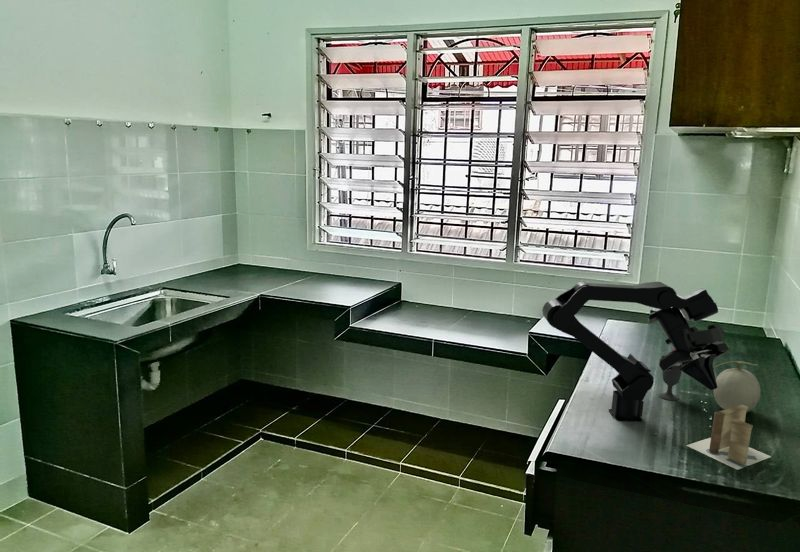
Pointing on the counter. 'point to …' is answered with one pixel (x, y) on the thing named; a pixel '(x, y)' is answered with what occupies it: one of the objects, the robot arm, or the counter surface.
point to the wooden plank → (732, 438)
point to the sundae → (671, 381)
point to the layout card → (722, 454)
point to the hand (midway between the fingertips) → (714, 389)
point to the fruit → (737, 387)
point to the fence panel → (730, 423)
